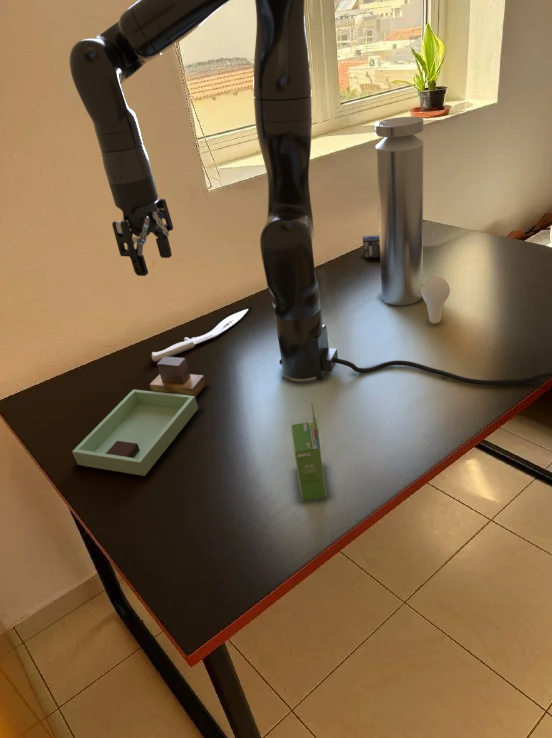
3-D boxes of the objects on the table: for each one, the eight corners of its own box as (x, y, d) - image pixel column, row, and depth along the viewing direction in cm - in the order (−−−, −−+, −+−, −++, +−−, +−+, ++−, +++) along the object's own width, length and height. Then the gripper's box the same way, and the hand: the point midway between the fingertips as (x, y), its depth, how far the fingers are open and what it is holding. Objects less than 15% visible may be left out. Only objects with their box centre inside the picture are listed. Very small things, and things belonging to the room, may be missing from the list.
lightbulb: (418, 328, 128) (418, 282, 122) (424, 316, 133) (424, 271, 127) (445, 330, 126) (447, 284, 120) (451, 317, 131) (452, 272, 124)
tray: (198, 410, 112) (194, 395, 110) (145, 478, 97) (139, 462, 95) (138, 403, 117) (133, 389, 115) (78, 467, 102) (71, 451, 100)
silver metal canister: (429, 291, 143) (431, 116, 121) (412, 308, 137) (411, 126, 114) (392, 285, 149) (387, 117, 126) (374, 302, 142) (366, 127, 119)
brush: (206, 387, 119) (198, 356, 114) (195, 401, 115) (186, 369, 111) (165, 383, 122) (156, 352, 118) (153, 396, 118) (143, 365, 114)
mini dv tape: (363, 258, 167) (362, 237, 163) (364, 256, 168) (363, 236, 164) (392, 256, 165) (391, 236, 161) (392, 254, 166) (392, 234, 163)
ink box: (298, 471, 94) (287, 405, 86) (321, 468, 94) (313, 401, 86) (301, 501, 88) (290, 433, 81) (327, 498, 88) (318, 429, 81)
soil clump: (140, 450, 103) (137, 443, 102) (126, 466, 99) (123, 459, 99) (119, 447, 104) (117, 440, 103) (105, 463, 101) (102, 456, 100)
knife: (247, 305, 147) (264, 314, 142) (248, 311, 148) (265, 320, 142) (139, 346, 133) (153, 357, 128) (141, 352, 134) (155, 363, 129)
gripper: (125, 187, 91) (152, 282, 100) (169, 163, 101) (190, 251, 111) (86, 188, 93) (116, 281, 102) (134, 165, 104) (157, 251, 113)
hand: (154, 265), depth 106 cm, fingers open, 8 cm apart
